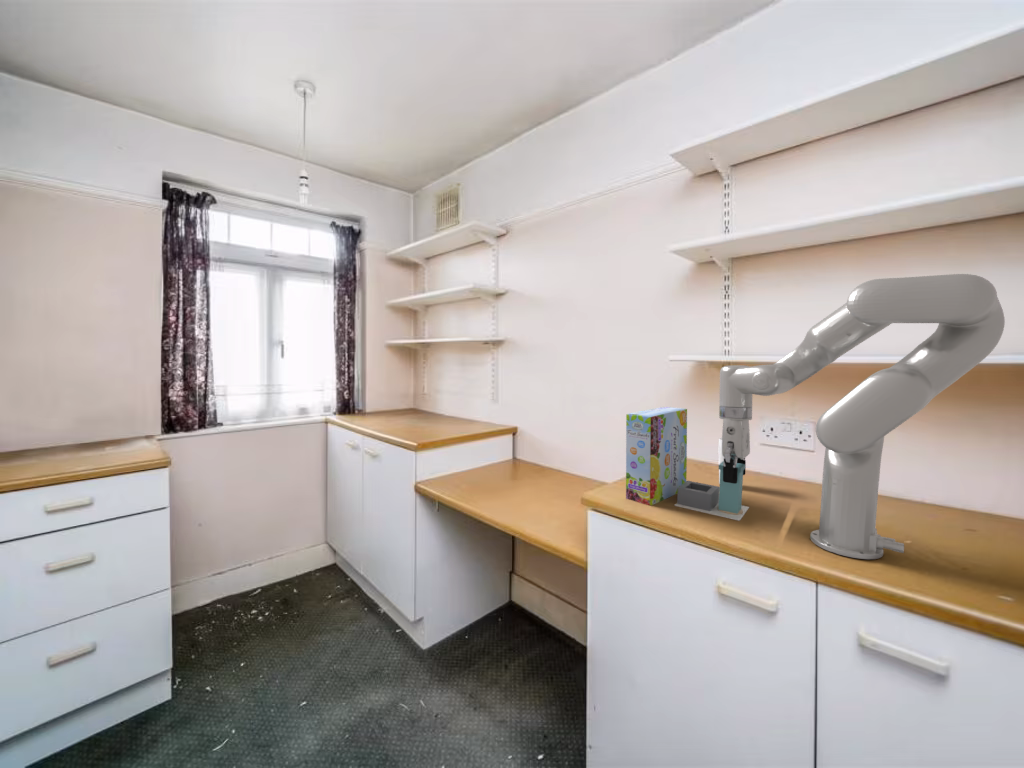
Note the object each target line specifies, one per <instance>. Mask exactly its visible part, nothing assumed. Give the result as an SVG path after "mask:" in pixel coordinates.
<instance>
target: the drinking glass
mask: <svg viewBox="0 0 1024 768" xmlns="http://www.w3.org/2000/svg"><path fill="white" fill-rule="evenodd" d="M717 443H718V444H717V454H718V455H717V460H718V461H717V462H718V465H719V464H720V463H722V462H723V461H724V458H725V457H724V456H723V455H722V437H718V442H717ZM718 484H719V485H720V469H719V468H718Z"/></svg>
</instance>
